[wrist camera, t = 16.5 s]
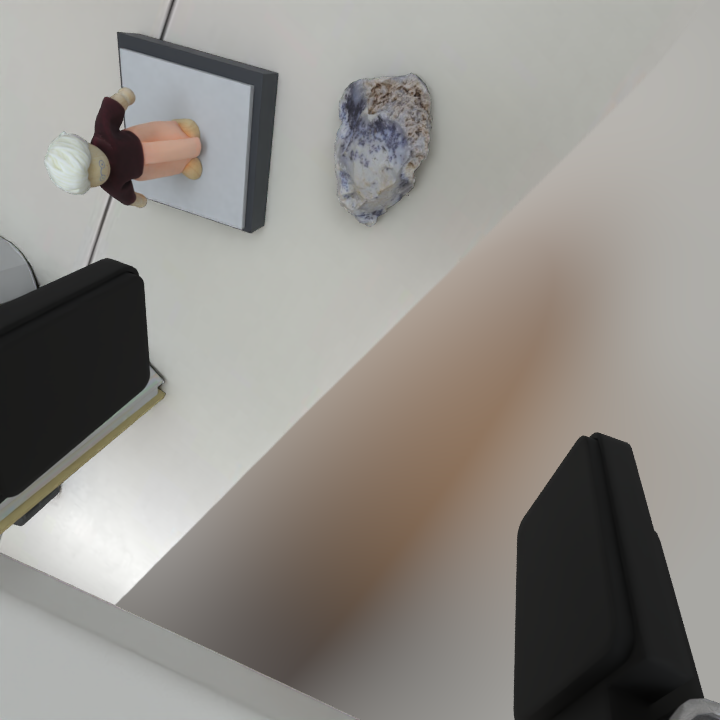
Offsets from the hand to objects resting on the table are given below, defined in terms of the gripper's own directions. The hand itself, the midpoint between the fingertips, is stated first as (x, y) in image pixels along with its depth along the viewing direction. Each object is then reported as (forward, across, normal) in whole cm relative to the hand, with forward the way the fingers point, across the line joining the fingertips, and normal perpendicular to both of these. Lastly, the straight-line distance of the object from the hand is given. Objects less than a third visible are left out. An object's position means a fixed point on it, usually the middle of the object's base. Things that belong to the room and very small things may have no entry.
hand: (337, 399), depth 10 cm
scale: (+30, +22, +4) cm, 38 cm away
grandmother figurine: (+27, +22, +4) cm, 35 cm away
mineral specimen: (+31, +7, +1) cm, 31 cm away
